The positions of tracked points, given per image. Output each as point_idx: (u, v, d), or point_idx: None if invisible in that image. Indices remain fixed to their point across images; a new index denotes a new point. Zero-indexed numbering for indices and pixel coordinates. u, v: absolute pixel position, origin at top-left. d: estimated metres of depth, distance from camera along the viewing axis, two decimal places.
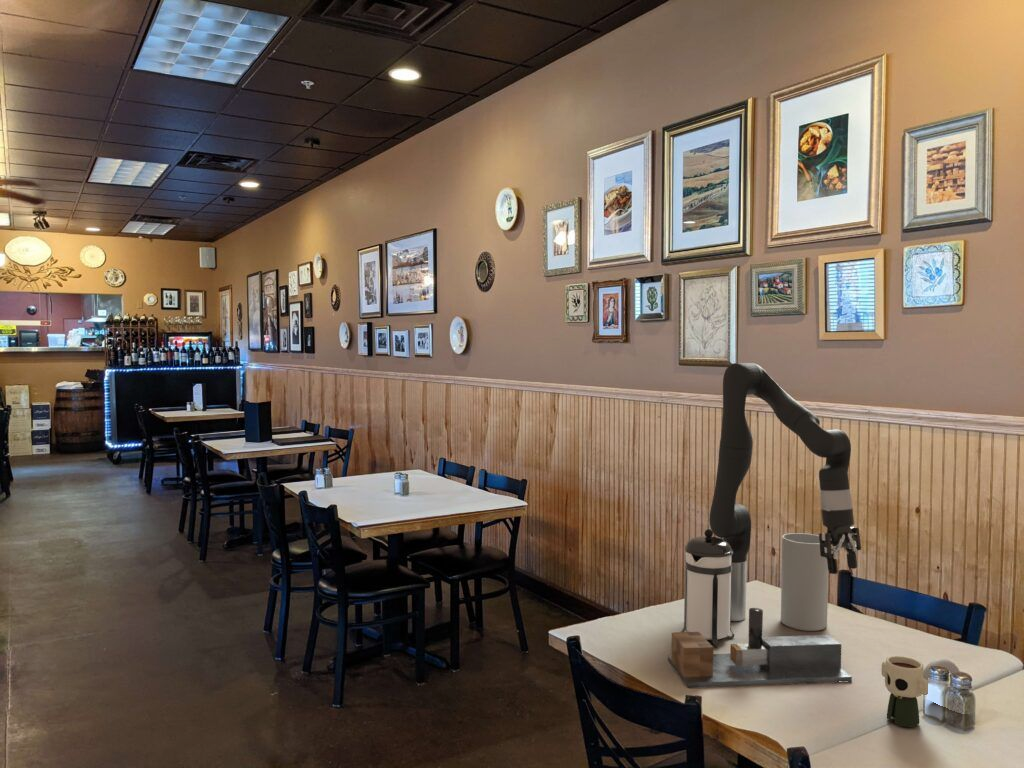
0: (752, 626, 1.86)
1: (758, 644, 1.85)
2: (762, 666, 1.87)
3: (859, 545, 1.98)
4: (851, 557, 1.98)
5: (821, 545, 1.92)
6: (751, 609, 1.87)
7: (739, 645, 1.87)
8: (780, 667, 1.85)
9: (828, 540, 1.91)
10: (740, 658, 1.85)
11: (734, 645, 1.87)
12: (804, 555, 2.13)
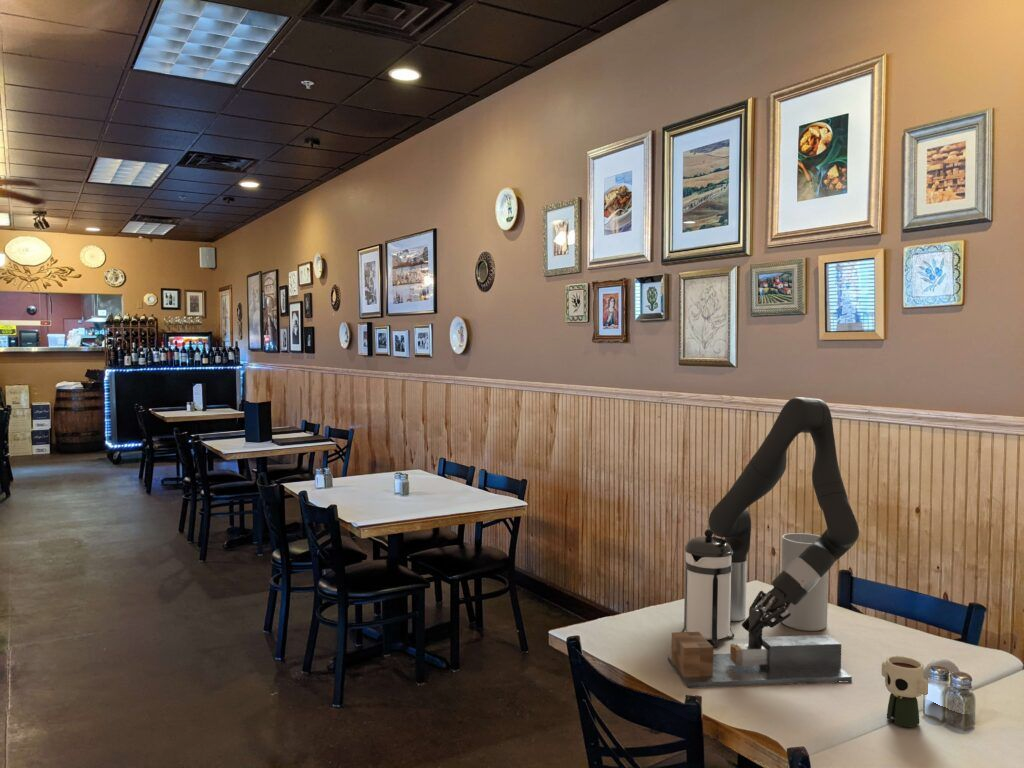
0: None
1: (758, 644, 1.85)
2: (762, 666, 1.87)
3: None
4: None
5: (775, 616, 1.81)
6: (751, 609, 1.87)
7: (739, 645, 1.87)
8: (780, 667, 1.85)
9: None
10: (740, 658, 1.85)
11: (734, 645, 1.87)
12: None
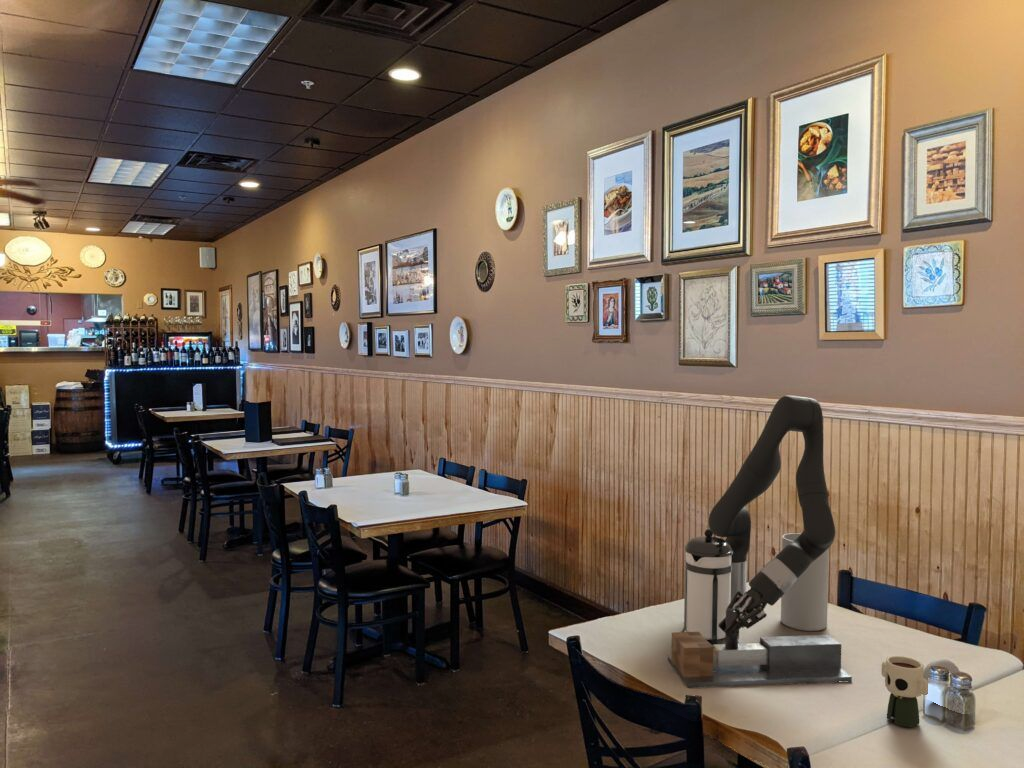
0: None
1: (735, 645, 1.85)
2: (762, 666, 1.87)
3: None
4: None
5: (751, 617, 1.81)
6: (728, 610, 1.86)
7: (716, 646, 1.87)
8: (780, 667, 1.85)
9: None
10: (716, 659, 1.84)
11: None
12: None
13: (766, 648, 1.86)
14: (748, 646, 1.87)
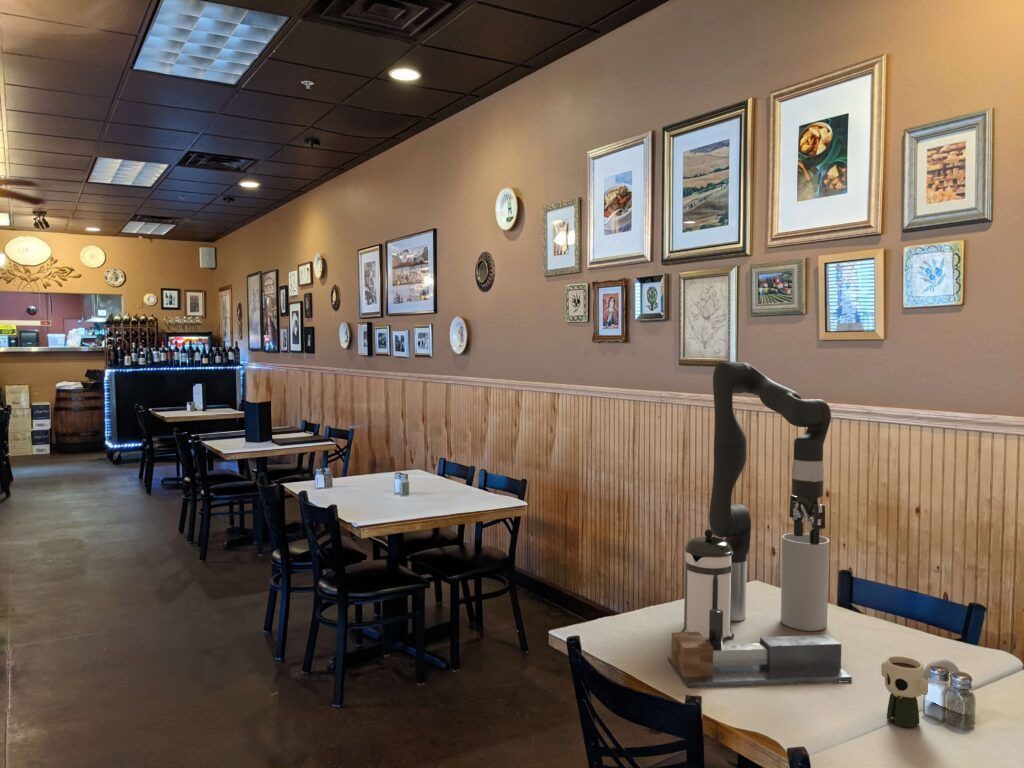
0: (712, 627, 1.85)
1: (718, 645, 1.84)
2: (762, 666, 1.87)
3: None
4: (799, 525, 1.99)
5: (817, 517, 1.88)
6: (711, 610, 1.86)
7: None
8: (780, 667, 1.85)
9: None
10: None
11: None
12: (804, 555, 2.13)
13: (750, 649, 1.85)
14: (732, 647, 1.86)
